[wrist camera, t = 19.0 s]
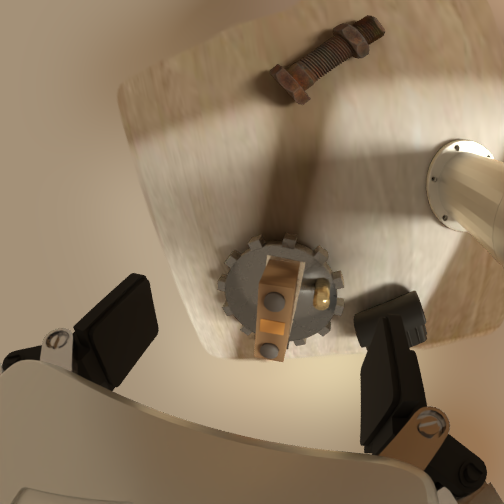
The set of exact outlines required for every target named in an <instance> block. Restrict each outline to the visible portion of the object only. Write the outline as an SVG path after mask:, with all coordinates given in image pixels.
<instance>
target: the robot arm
mask: <svg viewBox="0 0 504 504" xmlns="http://www.w3.org/2000/svg"><path fill="white" fill-rule="evenodd" d="M454 146H456V148H455V149H454ZM486 156H487V157H486ZM432 177H434V179H433V180H432ZM426 190H427V197H428V201H429V204H430V207H431V209H432V211H433V213H434V214H435V215H436V217H437V218H438V219H439V220H440V221H441V222H442V223H443V224H444V225H445V226H447V227H448V228H450V229H452V230H454V231H459V232H469V233H470V234H471V235H472V236H473V237H474V238H475V239H476V240H477V241H478V242H479V243H480V244H481V245H482V246H483V247H484V248H485V249H486V250H487V251H488V252H489V253H490V254H491V255H492V256H493V257H494V258H495V260H496V261H497V262H498V263H499V264H500V265H501V266H502V267H503V268H504V162H501V161H498V160H495V159H494V157H493V156H492V154H491V153H490V152H489V151H488V150H487V149H486V148H485V147H483V146H482V145H481V144H479V143H476V142H474V141H470V140H456V141H452V142H450V143H448V144H446V145H445V146H444V147H442V148H441V149H440V150H439V151H438V152H437V154H436V155H435V157H434V158H433V160H432V162H431V164H430V167H429V170H428V174H427V183H426ZM443 216H444V217H443ZM73 328H74V330H75V332H74V333H73V334H72V332H71V331H70V330H68V329H65V328H58V329H55V330H53V331H51V332H49V333H48V334H47V335H46V336H45V337H44V339H43V343H42V345H41V346H36V347H31V348H26V349H22V350H17V351H14V352H11V353H9V354H8V355H7V357H6V358H5V359H4V361H3V364H2V365H1V363H0V504H504V503H503V501H502V500H501V498H500V496H499V495H498V493H497V492H496V490H495V488H494V487H493V485H492V484H491V482H490V483H488V484H487V483H486V481H485V479H486V476H487V470H486V466H485V464H484V462H483V461H482V460H481V459H480V458H479V457H478V456H476V455H475V454H474V453H472V452H471V451H470V450H468V449H467V448H466V447H465V446H463V445H462V444H461V443H459V442H458V441H457V440H455V439H454V438H453V437H452V436H451V435H449V434H448V433H449V430H450V422H449V419H448V417H447V416H446V414H445V413H444V412H443V411H442V410H440V409H438V408H436V407H431V406H428V407H427V403H426V398H425V392H424V387H423V383H422V378H421V373H420V369H419V364H418V360H417V356H416V353H415V351H413V350H410V349H409V345H408V340H407V336H406V332H405V329H404V325H403V321H402V317H401V316H400V315H395V314H386V315H385V317H380V319H379V322H378V325H377V327H376V330H375V333H374V336H373V338H372V341H371V344H370V346H369V349H368V352H367V354H366V357H365V359H364V362H363V364H362V367H361V374H360V376H361V434H360V444H361V445H363V446H364V453H372V455H370V454H361V453H352V452H343V451H330V450H322V449H314V448H307V447H299V446H293V445H286V444H281V443H275V442H269V441H264V440H260V439H254V438H250V437H245V436H241V435H237V434H233V433H229V432H225V431H221V430H218V429H214V428H210V427H206V426H203V425H200V424H197V423H193V422H190V421H187V420H184V419H181V418H178V417H175V416H172V415H169V414H166V413H164V412H161V411H158V410H156V409H153V408H150V407H148V406H145V405H143V404H140V403H138V402H135V401H133V400H131V399H128V398H126V397H123V396H121V395H119V394H117V393H115V392H112V391H113V389H114V388H115V387H118V386H119V385H120V384H121V383H122V381H123V380H124V379H125V377H126V376H127V375H128V373H129V372H130V370H131V369H132V368H133V366H134V365H135V364H136V362H137V361H138V360H139V358H140V357H141V356H142V354H143V353H144V352H145V350H146V349H147V348H148V346H149V345H150V343H151V342H152V341H153V340H154V338H155V337H156V336H157V334H158V323H157V319H156V314H155V309H154V304H153V299H152V293H151V288H150V283H149V281H148V280H147V278H146V276H144V275H140V274H136V273H132V274H130V275H129V276H128V277H127V278H126V279H125V280H123V281H122V282H121V283H120V284H119V285H118V286H117V287H116V288H115V289H114V290H112V291H111V292H110V293H109V294H108V295H107V296H106V297H105V298H104V299H102V300H101V301H100V302H99V303H98V304H97V305H96V306H95V307H94V308H93V309H91V311H89V312H88V313H87V314H86V315H85V316H84V317H83V318H82V319H81V320H80V321H79V322H78V323H77V324H76V325H75V326H74V327H73ZM100 385H101V386H100Z"/></svg>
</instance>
